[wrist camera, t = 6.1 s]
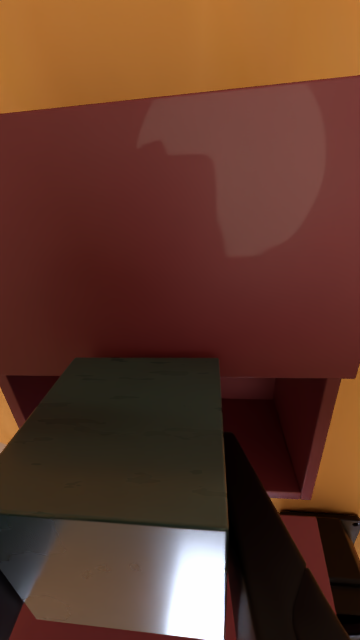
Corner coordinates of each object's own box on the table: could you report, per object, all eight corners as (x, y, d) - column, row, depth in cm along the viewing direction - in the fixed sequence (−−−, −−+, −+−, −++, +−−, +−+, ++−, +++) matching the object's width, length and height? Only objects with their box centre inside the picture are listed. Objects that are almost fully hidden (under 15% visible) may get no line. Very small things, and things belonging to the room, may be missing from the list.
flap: (316, 516, 12) (313, 517, 12) (35, 498, 13) (39, 499, 13) (388, 863, 7) (380, 850, 7) (-56, 778, 8) (-47, 769, 9)
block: (218, 459, 10) (225, 643, 6) (101, 453, 10) (35, 620, 6) (219, 357, 8) (229, 530, 4) (74, 356, 8) (-46, 509, 4)
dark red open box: (278, 399, 18) (317, 519, 12) (92, 396, 20) (35, 501, 13) (313, 130, 12) (447, 60, 5) (28, 155, 13) (-152, 125, 6)
